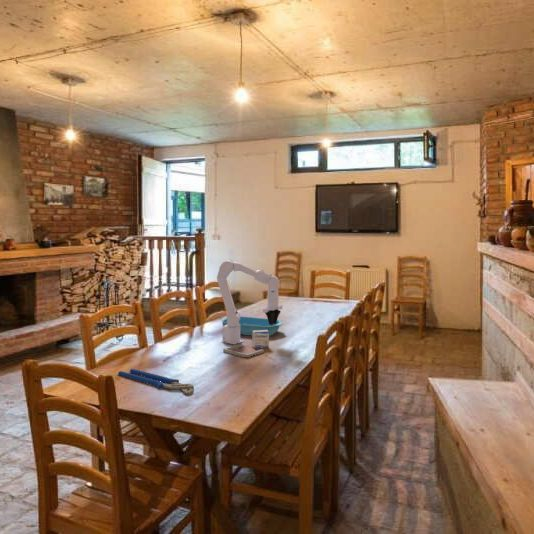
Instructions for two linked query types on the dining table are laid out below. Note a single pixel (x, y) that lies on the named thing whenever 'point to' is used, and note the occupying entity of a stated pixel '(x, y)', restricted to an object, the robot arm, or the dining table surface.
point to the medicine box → (260, 338)
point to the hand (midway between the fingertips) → (272, 324)
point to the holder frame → (229, 350)
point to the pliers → (171, 384)
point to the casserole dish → (255, 325)
